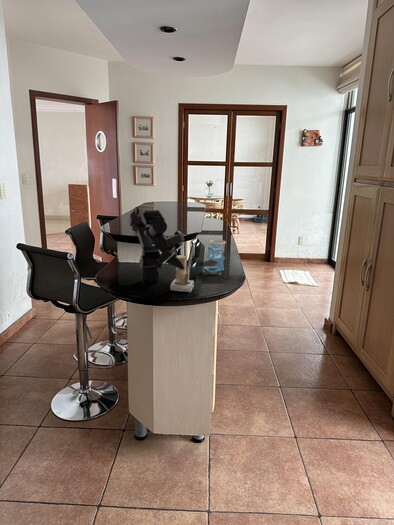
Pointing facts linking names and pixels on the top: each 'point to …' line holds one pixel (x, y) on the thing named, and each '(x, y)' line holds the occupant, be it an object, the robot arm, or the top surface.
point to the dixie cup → (217, 245)
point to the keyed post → (182, 271)
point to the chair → (216, 257)
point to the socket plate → (182, 286)
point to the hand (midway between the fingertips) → (184, 267)
